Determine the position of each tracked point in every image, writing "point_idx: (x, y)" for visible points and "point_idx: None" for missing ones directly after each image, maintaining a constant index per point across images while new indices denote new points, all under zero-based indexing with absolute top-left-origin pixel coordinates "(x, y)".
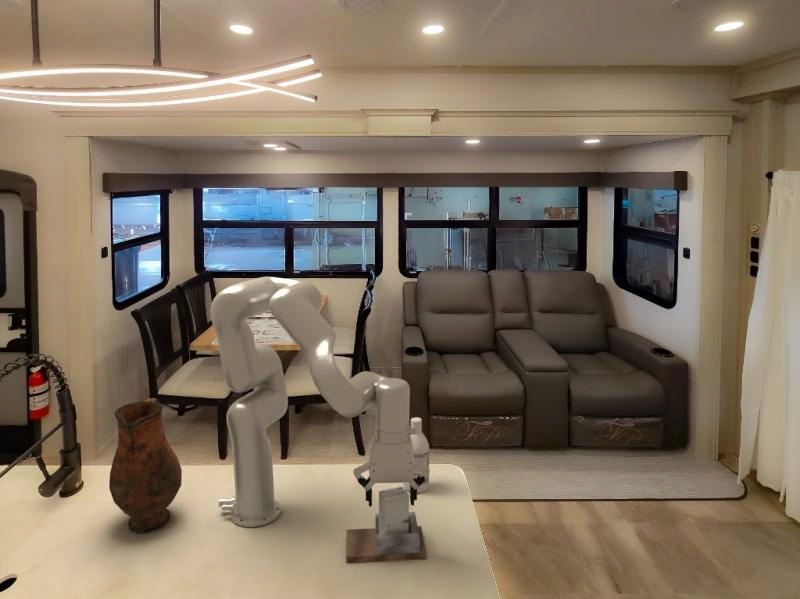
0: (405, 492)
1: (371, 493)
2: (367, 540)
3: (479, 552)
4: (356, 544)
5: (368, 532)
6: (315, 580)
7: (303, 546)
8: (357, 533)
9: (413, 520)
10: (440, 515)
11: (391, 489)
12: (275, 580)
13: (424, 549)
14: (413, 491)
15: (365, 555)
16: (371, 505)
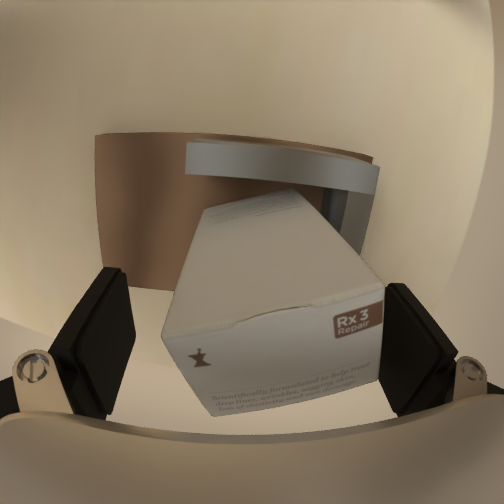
0: (367, 372)
1: (110, 406)
2: (163, 210)
3: (447, 279)
4: (128, 228)
5: (169, 160)
6: (65, 315)
7: (13, 187)
8: (130, 163)
9: (353, 233)
10: (436, 88)
11: (279, 334)
12: (8, 296)
13: None
14: (402, 411)
15: (157, 286)
16: (132, 340)
